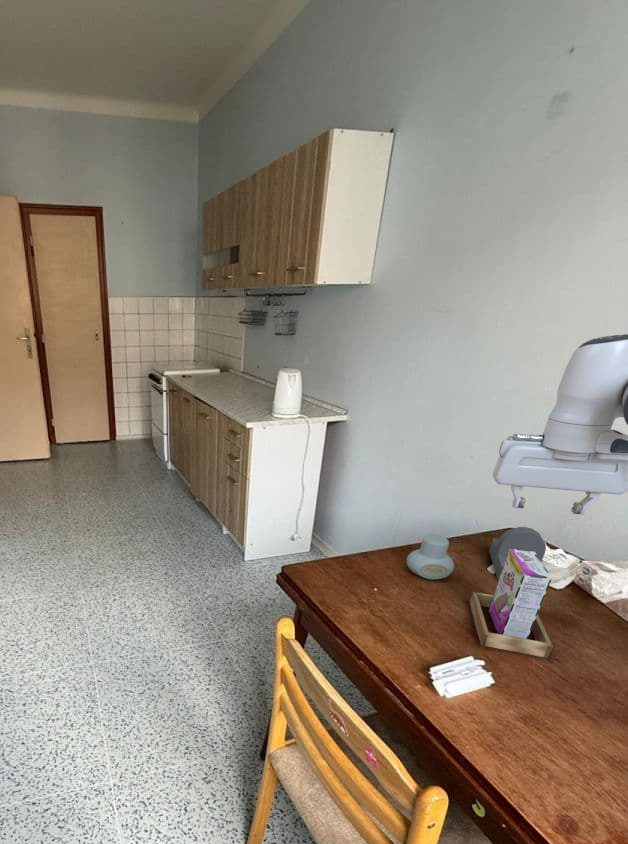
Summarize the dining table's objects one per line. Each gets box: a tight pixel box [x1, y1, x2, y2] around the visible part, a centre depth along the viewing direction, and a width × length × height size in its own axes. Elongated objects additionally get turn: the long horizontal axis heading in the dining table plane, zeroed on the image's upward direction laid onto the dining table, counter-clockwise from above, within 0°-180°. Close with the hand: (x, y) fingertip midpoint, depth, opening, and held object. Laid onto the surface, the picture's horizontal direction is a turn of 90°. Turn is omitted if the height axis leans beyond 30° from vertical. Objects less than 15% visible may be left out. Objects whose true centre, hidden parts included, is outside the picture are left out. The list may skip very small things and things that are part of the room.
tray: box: [468, 591, 554, 659], centre depth 101 cm, size 12×17×3 cm
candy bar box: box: [488, 549, 553, 640], centre depth 98 cm, size 11×5×16 cm, turn 161°
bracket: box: [489, 526, 547, 580], centre depth 122 cm, size 10×18×11 cm, turn 156°
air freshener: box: [406, 534, 455, 581], centre depth 120 cm, size 11×8×10 cm
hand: (546, 510), depth 89 cm, fingers open, 8 cm apart
